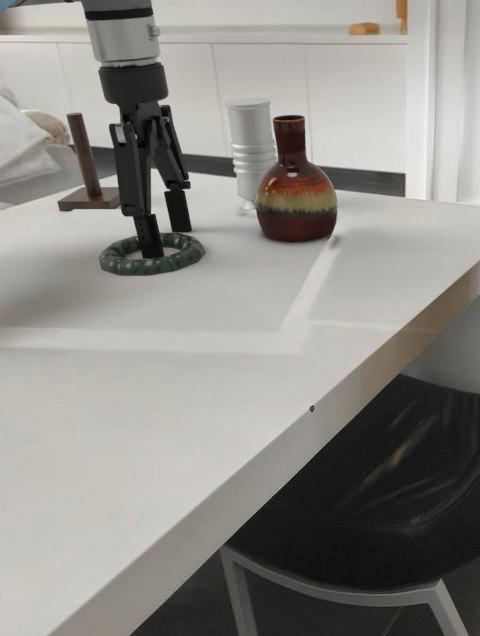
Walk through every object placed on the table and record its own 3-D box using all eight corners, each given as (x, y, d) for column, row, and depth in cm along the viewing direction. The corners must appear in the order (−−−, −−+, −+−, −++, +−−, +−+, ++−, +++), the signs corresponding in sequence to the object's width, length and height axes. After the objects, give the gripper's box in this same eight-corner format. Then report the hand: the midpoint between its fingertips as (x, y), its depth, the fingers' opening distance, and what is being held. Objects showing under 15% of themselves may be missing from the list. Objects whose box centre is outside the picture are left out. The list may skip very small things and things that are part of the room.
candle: (287, 201, 112) (277, 97, 103) (273, 213, 107) (261, 105, 98) (248, 199, 114) (235, 97, 105) (232, 211, 108) (216, 105, 99)
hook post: (59, 210, 113) (32, 119, 104) (84, 196, 120) (60, 109, 112) (111, 210, 112) (88, 118, 103) (132, 195, 119) (113, 108, 110)
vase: (266, 229, 100) (252, 111, 91) (341, 227, 100) (335, 108, 91) (254, 255, 92) (237, 127, 82) (336, 253, 91) (328, 124, 82)
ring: (85, 285, 85) (78, 263, 83) (127, 250, 95) (122, 229, 94) (186, 287, 83) (182, 264, 82) (219, 250, 94) (215, 230, 92)
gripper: (120, 74, 70) (167, 283, 84) (192, 50, 88) (221, 226, 102) (52, 76, 71) (109, 283, 85) (137, 53, 89) (173, 226, 103)
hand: (170, 252), depth 93 cm, fingers open, 10 cm apart
